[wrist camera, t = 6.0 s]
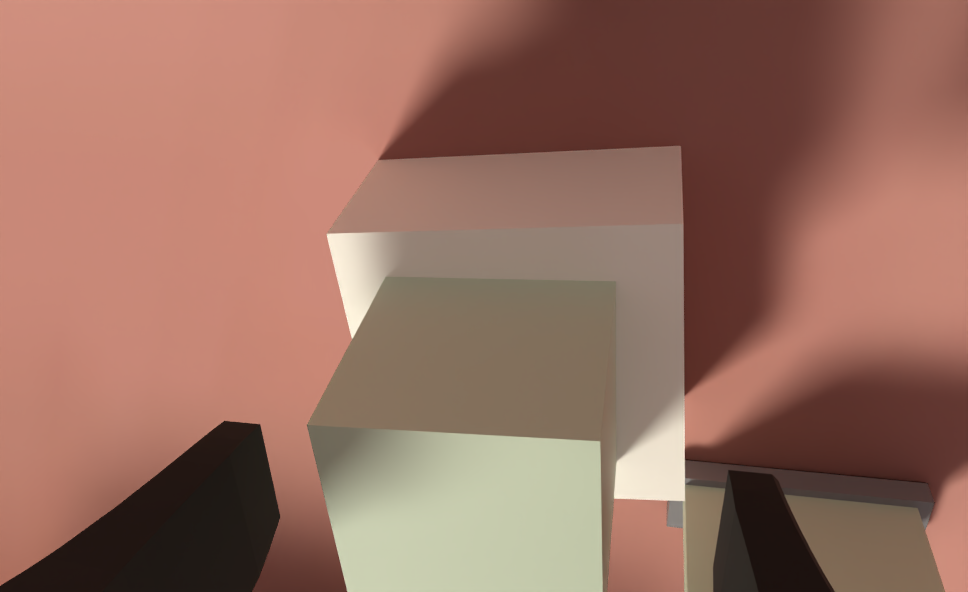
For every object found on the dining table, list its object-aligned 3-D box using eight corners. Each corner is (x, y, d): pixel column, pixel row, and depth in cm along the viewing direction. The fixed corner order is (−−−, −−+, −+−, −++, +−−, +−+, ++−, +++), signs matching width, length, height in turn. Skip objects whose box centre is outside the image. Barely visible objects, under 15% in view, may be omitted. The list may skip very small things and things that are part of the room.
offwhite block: (680, 139, 17) (683, 224, 14) (682, 389, 20) (684, 501, 17) (381, 154, 18) (326, 233, 15) (427, 386, 21) (388, 489, 18)
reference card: (927, 483, 19) (998, 684, 15) (911, 534, 20) (974, 736, 16) (672, 458, 20) (673, 642, 16) (666, 508, 21) (666, 693, 17)
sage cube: (616, 281, 15) (600, 441, 11) (616, 461, 17) (603, 641, 13) (385, 276, 15) (306, 424, 12) (413, 449, 17) (353, 616, 14)
